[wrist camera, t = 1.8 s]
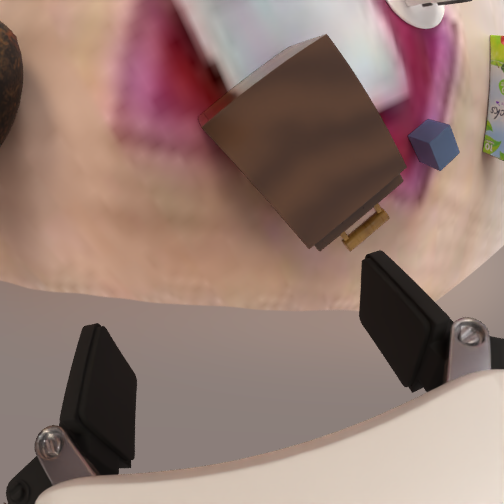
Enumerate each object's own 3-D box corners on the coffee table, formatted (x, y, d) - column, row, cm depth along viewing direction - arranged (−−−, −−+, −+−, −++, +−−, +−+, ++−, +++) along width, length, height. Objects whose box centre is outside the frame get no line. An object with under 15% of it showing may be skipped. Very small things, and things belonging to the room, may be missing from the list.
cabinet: (359, 146, 35) (407, 167, 27) (280, 210, 37) (309, 249, 29) (289, 46, 28) (326, 33, 19) (197, 117, 30) (201, 127, 22)
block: (427, 118, 34) (450, 124, 30) (438, 144, 36) (460, 152, 33) (407, 135, 35) (429, 143, 31) (419, 161, 37) (440, 171, 33)
